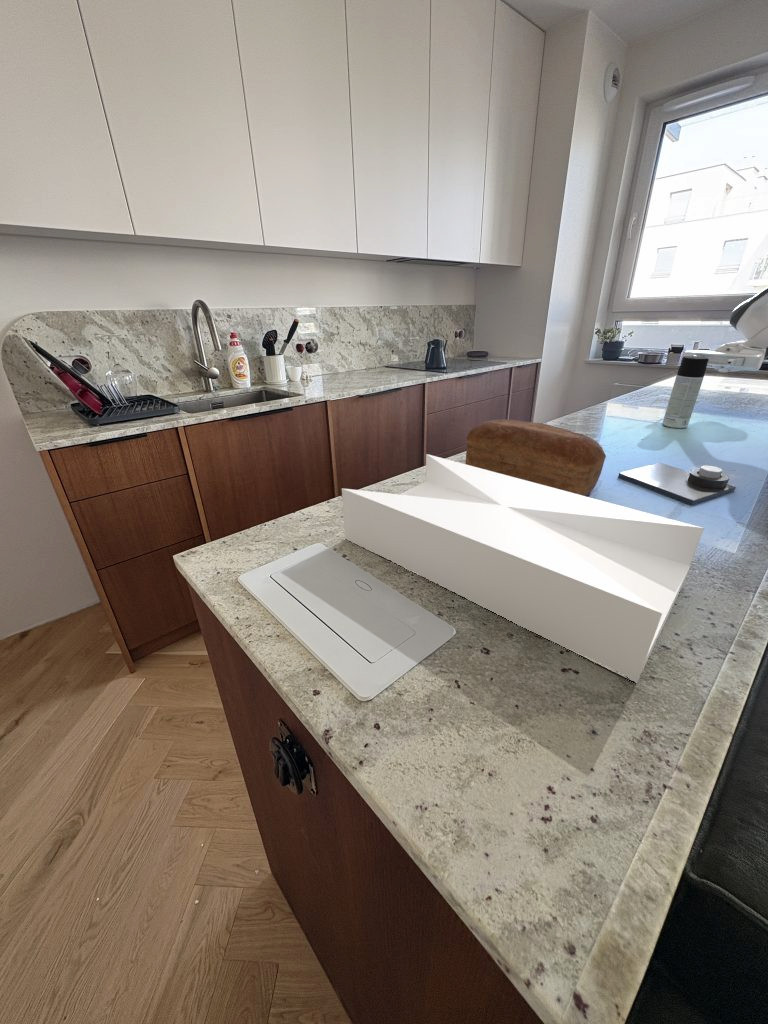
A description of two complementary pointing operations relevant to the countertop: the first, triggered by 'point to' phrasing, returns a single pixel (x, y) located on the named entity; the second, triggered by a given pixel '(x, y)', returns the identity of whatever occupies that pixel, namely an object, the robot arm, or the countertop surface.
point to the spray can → (685, 391)
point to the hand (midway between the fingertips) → (711, 361)
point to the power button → (710, 472)
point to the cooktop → (678, 483)
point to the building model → (535, 556)
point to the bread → (536, 454)
